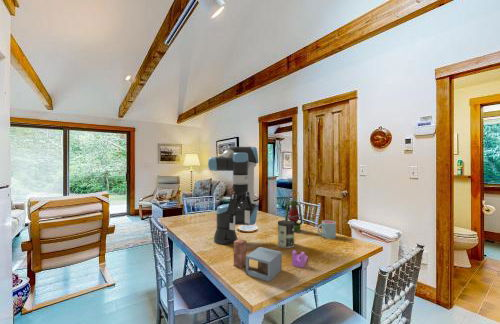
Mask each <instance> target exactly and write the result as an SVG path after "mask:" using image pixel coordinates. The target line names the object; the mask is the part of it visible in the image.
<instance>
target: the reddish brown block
mask: <svg viewBox="0 0 500 324" xmlns="http://www.w3.org/2000/svg"><path fill="white" fill-rule="evenodd" d="M246 256H247V240H245V239H241V238H237V240H236V241H234V243H233V266H234V267H236V268H240V269H242V268H243V267H245V268H246ZM249 269H252V270H254V271H255V270H256V271H257V272H258V273H262V274H265V275H268V264H267V263H263V262H259V261H257V267H253V266H251V265H249Z"/></svg>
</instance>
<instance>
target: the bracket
mask: <svg viewBox="0 0 500 324" xmlns="http://www.w3.org/2000/svg"><path fill="white" fill-rule="evenodd" d="M297 253H298V251H297V250H294V249H293V250H292V253H291V266H293V267H298V268H303V269H304V267H305V265H306V263H307V261H308V255H306V251H300V253H299V254H297Z"/></svg>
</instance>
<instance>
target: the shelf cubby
mask: <svg viewBox="0 0 500 324" xmlns="http://www.w3.org/2000/svg"><path fill="white" fill-rule="evenodd" d="M250 260H251V261H255V262H258V261H259V262H263V263H267V264H268V275H265V274H262V273H258V271H255V270H251V269H250V268H249V266H250ZM282 265H283V264H282V251H280V250H275V249H270V248H267V247H261V246H259V247H257V248H255V249H254V250H252V251H251V252H249V253H248V254H246V267H245V275H246V276H250V277H253V278H256V279H259V280H263V281H266V282H271V281H272V280H273V279H274V278H275V277H277V275H278V274H279V273H280V272H281V270H282Z"/></svg>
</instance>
